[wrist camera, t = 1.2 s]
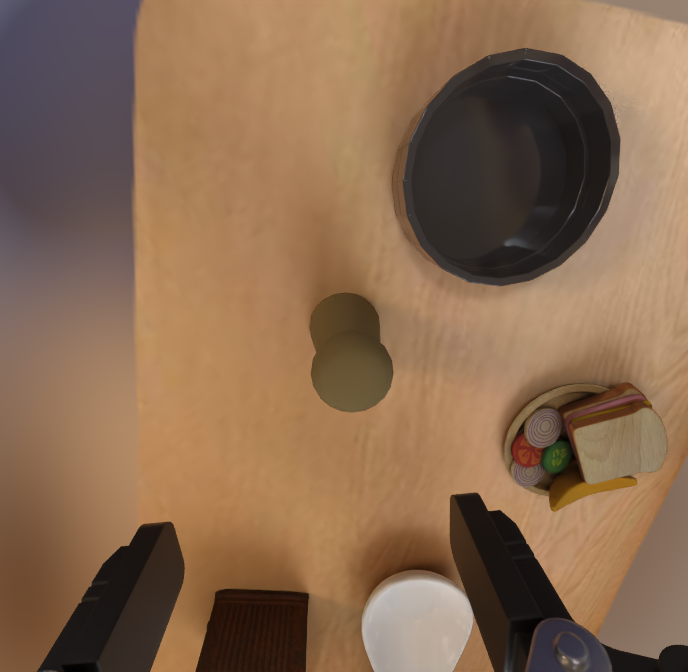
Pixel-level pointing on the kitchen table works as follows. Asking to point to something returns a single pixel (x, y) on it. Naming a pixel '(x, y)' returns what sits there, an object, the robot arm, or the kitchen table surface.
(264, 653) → the dark brown coffee grinder
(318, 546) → the kitchen table surface
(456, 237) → the dark grey bowl
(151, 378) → the kitchen table surface
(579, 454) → the toy sandwich meal
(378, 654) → the spoon rest
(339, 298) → the cork
